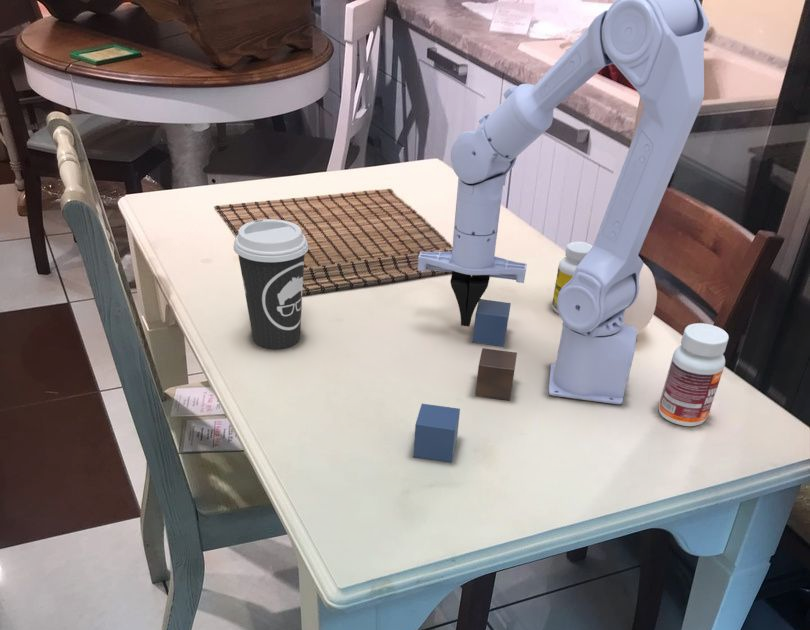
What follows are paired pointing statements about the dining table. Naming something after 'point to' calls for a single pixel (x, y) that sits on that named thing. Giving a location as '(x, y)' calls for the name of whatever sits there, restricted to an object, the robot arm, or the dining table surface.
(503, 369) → the walnut block
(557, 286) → the supplement bottle
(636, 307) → the egg
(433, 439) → the blue block near
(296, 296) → the coffee cup
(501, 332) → the blue block far
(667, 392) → the pill bottle
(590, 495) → the dining table surface
